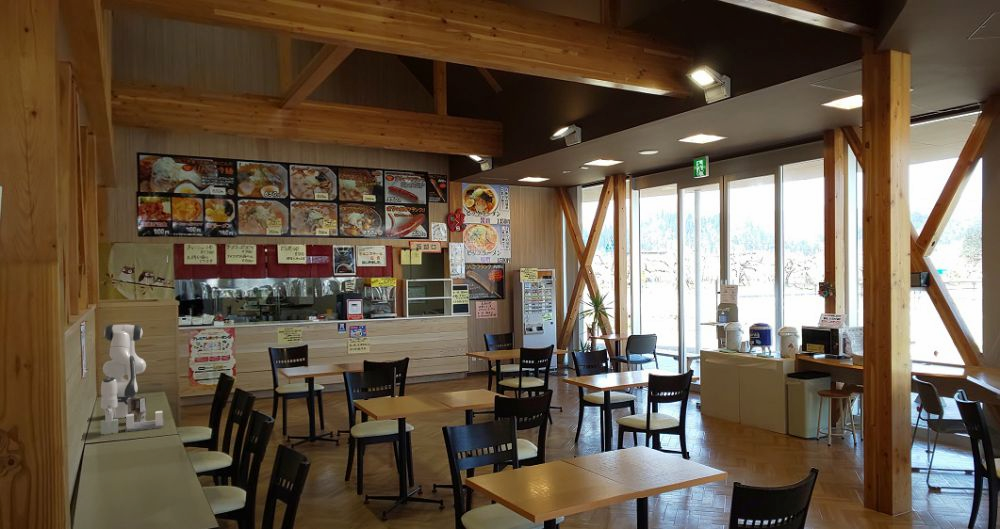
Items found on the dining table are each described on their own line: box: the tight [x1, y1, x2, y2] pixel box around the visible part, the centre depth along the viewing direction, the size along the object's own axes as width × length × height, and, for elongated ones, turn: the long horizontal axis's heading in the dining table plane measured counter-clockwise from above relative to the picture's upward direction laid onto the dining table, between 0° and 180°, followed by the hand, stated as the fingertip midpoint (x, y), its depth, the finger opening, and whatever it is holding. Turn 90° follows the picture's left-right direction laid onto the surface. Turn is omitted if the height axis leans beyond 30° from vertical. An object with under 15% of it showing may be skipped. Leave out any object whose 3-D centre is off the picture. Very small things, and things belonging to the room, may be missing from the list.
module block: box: [100, 418, 119, 436], centre depth 411 cm, size 4×9×8 cm, turn 118°
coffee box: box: [127, 396, 147, 423], centre depth 439 cm, size 9×6×16 cm
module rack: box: [125, 410, 165, 433], centre depth 422 cm, size 9×21×10 cm, turn 118°
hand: (109, 427), depth 411 cm, fingers open, 8 cm apart
